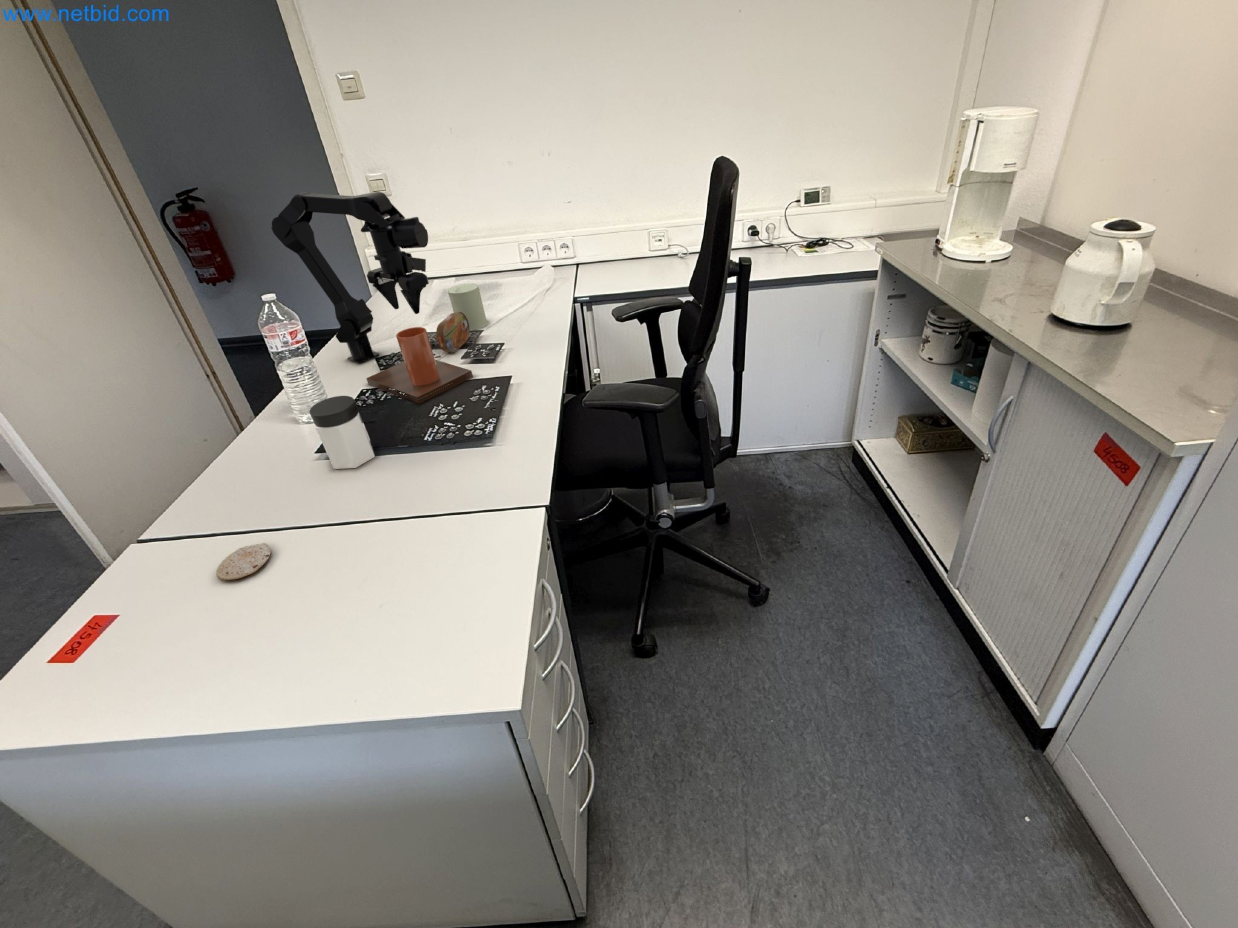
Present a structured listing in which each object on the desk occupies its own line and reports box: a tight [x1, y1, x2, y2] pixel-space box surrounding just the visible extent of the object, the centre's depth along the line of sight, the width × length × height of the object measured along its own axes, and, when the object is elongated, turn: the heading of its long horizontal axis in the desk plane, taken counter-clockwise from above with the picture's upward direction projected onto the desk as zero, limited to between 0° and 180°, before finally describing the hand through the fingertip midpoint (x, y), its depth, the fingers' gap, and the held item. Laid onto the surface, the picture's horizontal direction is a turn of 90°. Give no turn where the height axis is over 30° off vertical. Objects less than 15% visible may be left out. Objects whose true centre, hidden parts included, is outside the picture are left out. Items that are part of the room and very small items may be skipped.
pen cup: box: [395, 326, 439, 386], centre depth 138 cm, size 7×7×12 cm
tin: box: [435, 312, 471, 353], centre depth 161 cm, size 15×3×8 cm, turn 168°
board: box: [365, 359, 474, 405], centre depth 145 cm, size 22×16×2 cm
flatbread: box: [215, 542, 272, 581], centre depth 92 cm, size 8×8×1 cm
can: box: [447, 282, 488, 332], centre depth 173 cm, size 9×9×12 cm
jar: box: [309, 395, 376, 470], centre depth 113 cm, size 9×8×12 cm
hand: (407, 311), depth 151 cm, fingers open, 9 cm apart
